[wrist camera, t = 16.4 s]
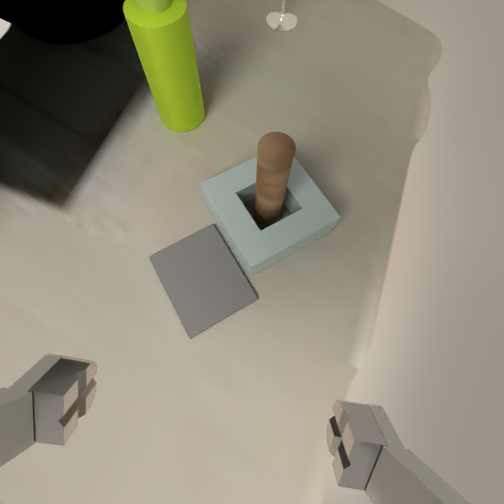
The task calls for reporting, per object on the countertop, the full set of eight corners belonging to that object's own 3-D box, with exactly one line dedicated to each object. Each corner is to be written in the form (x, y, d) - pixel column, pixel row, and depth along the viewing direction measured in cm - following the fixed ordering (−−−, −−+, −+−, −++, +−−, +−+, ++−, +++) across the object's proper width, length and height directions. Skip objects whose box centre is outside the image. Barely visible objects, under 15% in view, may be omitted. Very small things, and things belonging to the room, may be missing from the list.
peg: (249, 211, 35) (251, 141, 24) (270, 200, 36) (282, 126, 24) (262, 231, 34) (270, 168, 23) (284, 219, 35) (302, 152, 24)
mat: (149, 258, 33) (148, 257, 33) (213, 225, 34) (213, 224, 34) (190, 338, 30) (189, 338, 30) (257, 299, 32) (258, 298, 31)
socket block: (203, 200, 35) (199, 184, 32) (280, 162, 38) (284, 143, 34) (250, 277, 32) (250, 267, 29) (331, 230, 34) (340, 217, 31)
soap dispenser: (179, 87, 42) (125, -138, 23) (213, 114, 40) (185, -103, 21) (146, 110, 40) (59, -111, 21) (181, 139, 38) (118, -71, 20)
